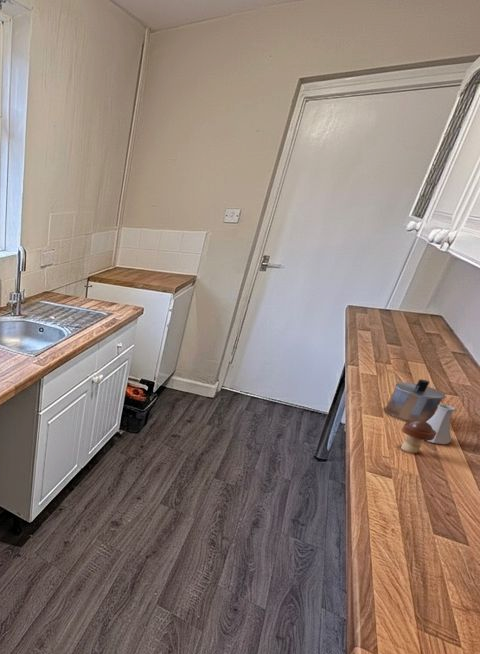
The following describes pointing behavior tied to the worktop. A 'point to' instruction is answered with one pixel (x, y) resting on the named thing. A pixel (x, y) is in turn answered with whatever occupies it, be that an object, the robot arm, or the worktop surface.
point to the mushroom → (416, 435)
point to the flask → (441, 424)
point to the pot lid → (420, 390)
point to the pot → (411, 407)
